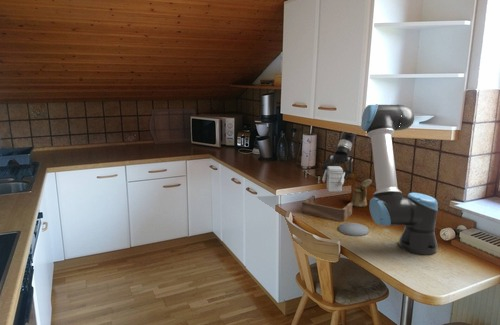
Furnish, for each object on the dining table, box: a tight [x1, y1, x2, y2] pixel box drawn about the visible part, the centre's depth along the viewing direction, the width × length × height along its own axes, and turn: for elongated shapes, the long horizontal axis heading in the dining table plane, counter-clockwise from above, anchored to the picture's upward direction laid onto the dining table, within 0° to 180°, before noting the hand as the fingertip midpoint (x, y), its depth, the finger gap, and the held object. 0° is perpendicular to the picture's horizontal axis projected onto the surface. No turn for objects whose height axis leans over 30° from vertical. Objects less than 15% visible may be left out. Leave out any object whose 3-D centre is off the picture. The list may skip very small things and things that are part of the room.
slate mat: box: [338, 222, 370, 237], centre depth 179 cm, size 14×14×1 cm
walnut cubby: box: [301, 195, 353, 223], centre depth 201 cm, size 14×23×6 cm, turn 58°
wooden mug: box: [350, 178, 373, 208], centre depth 212 cm, size 9×14×18 cm, turn 12°
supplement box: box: [325, 165, 344, 192], centre depth 206 cm, size 7×7×13 cm
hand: (332, 182), depth 203 cm, fingers closed on supplement box, 10 cm apart
